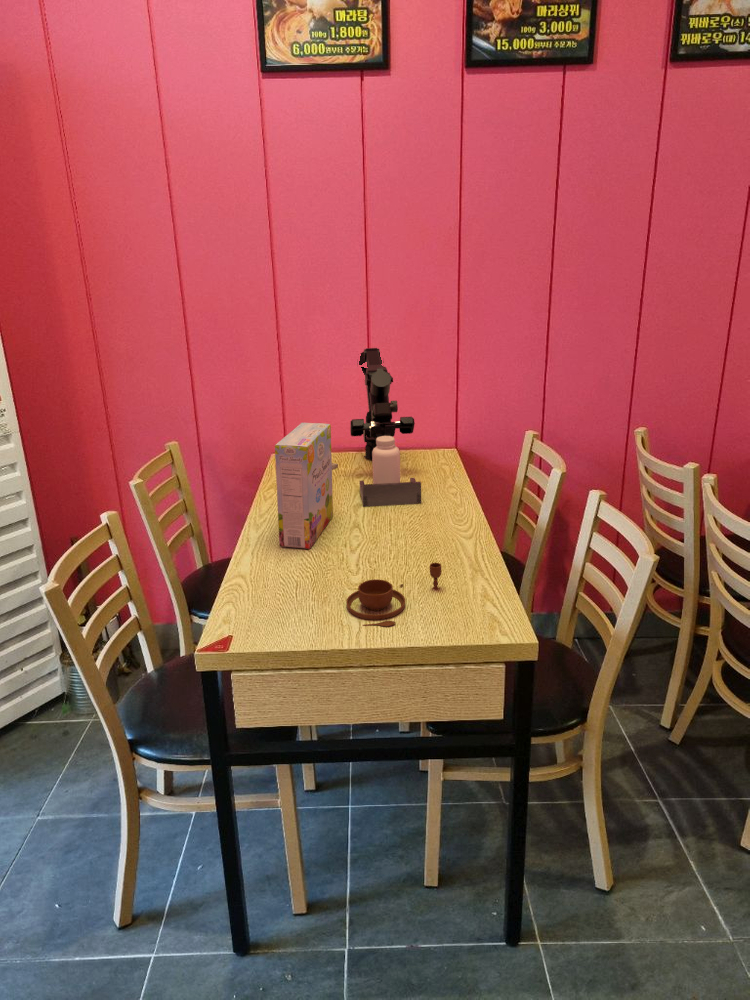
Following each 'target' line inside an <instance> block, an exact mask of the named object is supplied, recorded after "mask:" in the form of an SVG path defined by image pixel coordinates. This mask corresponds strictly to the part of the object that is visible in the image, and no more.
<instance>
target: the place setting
mask: <svg viewBox="0 0 750 1000" xmlns="http://www.w3.org/2000/svg"><path fill="white" fill-rule="evenodd" d="M429 575H430V577H431V578H433V583H432V585H433V586H432V589H433V590H435V591H437V590H439V587H438V585H439V582H438V580H439V578H440V577H441V575H442V564H441V563H439V562H432V563H430V564H429ZM357 587H358V588H357V589H358V590H356V591H354V592H353V593H350V594H349V596H347V598H346V607H347V610H348V612H350V614H352V615H353V616H355V617H357V618H360V619H364V620H370V621H371V620H373V621H379V620H385V621H381V622H376V623H368V624H362V627H371V626H372V627H373V626H378V627H382V628H386V627H387V628H388V627H392V626H394V625H395V624H396V621H393V620H386V619H389V618H392V617H395V616H397V615H399V614H400V613H401V612H402V611H403V609H404V608H405V606H406V597H405V596H404V594H403V593H401V592H400V591H398V590H395V589H393V588H394V587H393V584H392V583H391V582H389V581H387V580H384V579H378V578H377V579H375V578H374V579H368V580H365V581H363V582H361V583H360V584H359V585H358V586H357ZM404 587H405V585H404V583H403V584H399V588H404ZM393 598H394V599H396V600H397V601H398V602H399V603H400V607H399V608H397V609H395V610H393V611H390V612H387V613H386V612H385V613H381V614H370V613H369V614H368V613H364V612H363V613H362V612H359V611H357V610H354V609H353V608H352V604H353V602H355V600H357V599H358V600H359V602H360V603H361V605H362V606H363V607H366V608H367V609H369V610H371V611H380V610H383V609H385V608H386V607H387V606H389V605H390V604H391V602H392V601H393Z"/></svg>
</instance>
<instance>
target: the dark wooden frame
mask: <svg viewBox="0 0 750 1000" xmlns="http://www.w3.org/2000/svg"><path fill="white" fill-rule="evenodd" d="M359 492H360V493H359V494H360V497H361V498H360V499H361V502H362V506H363V507H365V508H367V507H382V506H383V507H385V506H401V505H402V506H403V505H418V504H419V505H420V504H422V482H421V481H417V480H416V478H415V477H410V478H409V481H407V482H406V481H404V482H401V481H400V483H383V484H373V483H370V484H365V481H364V480H359Z"/></svg>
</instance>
